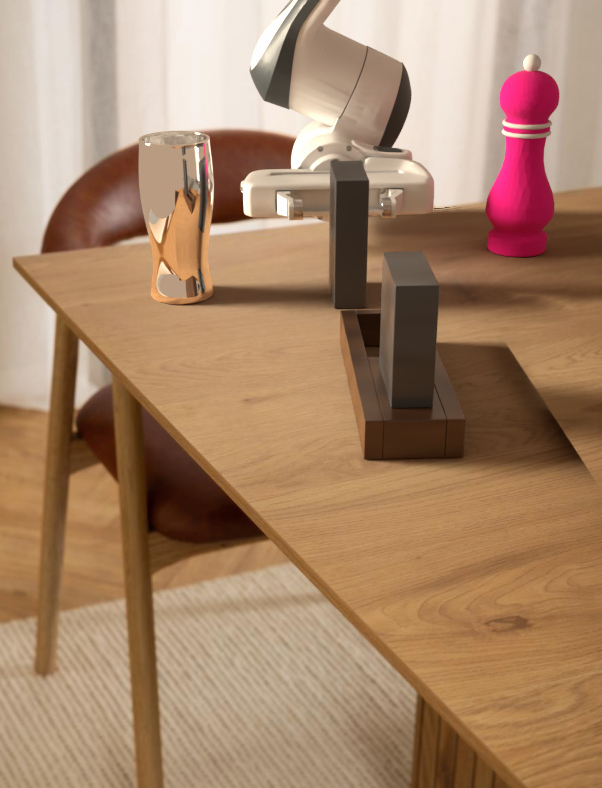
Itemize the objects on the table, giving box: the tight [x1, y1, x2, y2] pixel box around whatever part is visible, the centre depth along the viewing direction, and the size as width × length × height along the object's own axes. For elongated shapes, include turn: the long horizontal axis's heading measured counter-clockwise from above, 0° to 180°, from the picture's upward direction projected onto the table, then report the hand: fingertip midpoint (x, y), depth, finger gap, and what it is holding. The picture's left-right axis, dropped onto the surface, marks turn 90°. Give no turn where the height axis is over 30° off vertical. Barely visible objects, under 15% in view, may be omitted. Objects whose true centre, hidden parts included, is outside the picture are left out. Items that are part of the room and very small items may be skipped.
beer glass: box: [138, 130, 215, 305], centre depth 112 cm, size 7×7×15 cm
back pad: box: [328, 161, 369, 309], centre depth 112 cm, size 8×3×12 cm, turn 2°
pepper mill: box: [484, 53, 560, 258], centre depth 123 cm, size 7×7×20 cm
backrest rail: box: [339, 250, 466, 460], centre depth 91 cm, size 23×7×12 cm, turn 2°
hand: (342, 211), depth 120 cm, fingers open, 8 cm apart
